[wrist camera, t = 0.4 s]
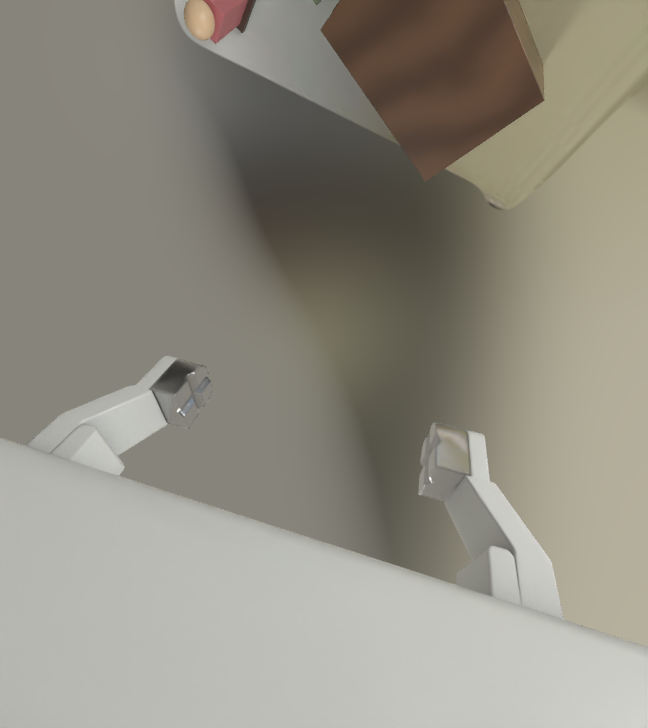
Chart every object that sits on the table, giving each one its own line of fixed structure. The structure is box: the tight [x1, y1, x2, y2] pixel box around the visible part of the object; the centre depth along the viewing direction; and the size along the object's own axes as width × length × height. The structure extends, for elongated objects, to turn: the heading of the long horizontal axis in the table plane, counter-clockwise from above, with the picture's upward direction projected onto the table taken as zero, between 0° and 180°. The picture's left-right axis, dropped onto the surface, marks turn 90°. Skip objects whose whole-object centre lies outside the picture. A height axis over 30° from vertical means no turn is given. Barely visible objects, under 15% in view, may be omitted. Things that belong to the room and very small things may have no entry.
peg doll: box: [184, 0, 256, 44], centre depth 37 cm, size 4×5×11 cm
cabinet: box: [321, 0, 544, 181], centre depth 35 cm, size 20×14×9 cm
